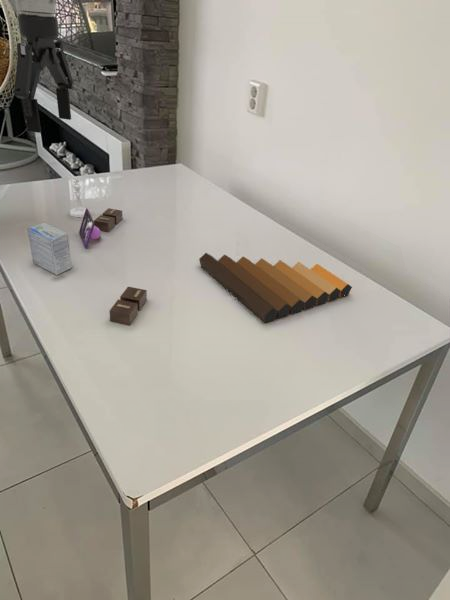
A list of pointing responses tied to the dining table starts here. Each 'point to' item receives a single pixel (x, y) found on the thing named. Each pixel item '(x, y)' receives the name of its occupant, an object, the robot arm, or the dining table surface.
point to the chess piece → (77, 201)
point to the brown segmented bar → (128, 305)
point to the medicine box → (50, 248)
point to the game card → (88, 229)
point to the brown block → (108, 219)
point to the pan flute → (275, 285)
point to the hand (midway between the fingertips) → (50, 124)
